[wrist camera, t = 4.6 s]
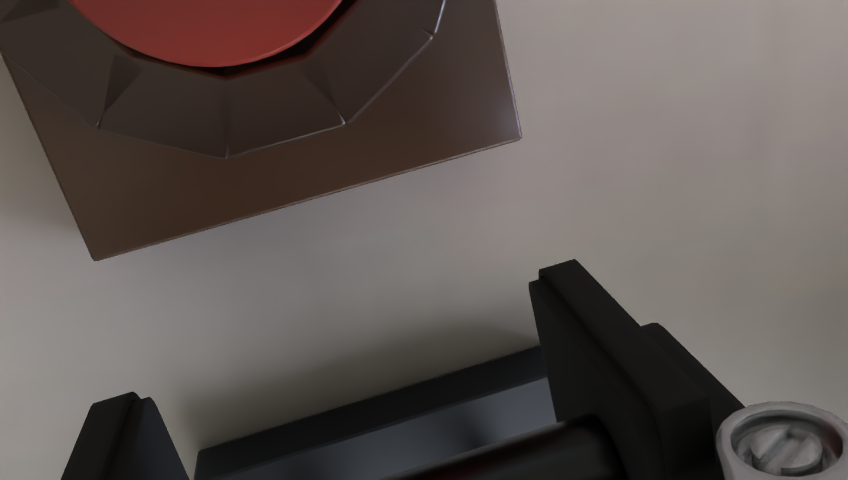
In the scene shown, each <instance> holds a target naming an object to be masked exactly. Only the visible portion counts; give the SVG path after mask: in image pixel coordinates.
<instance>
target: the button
mask: <svg viewBox="0 0 848 480" xmlns="http://www.w3.org/2000/svg"><path fill="white" fill-rule="evenodd" d="M67 1H68V2H69V3H70V4H71V5H72V6H73V7H74V8H75V9H76V10H77V11H78V12H79V13H80V14H81V15H82V16H83V17H85V18H86V19H87V20H88V21H90V22H91V23H92V24H93V25H95V26H96V27H97V28H99V29H100V30H101V31H102V32H104V33H106V34H107V35H109V36H110V37H112V38H114V39H115V40H117V41H119V42H120V43H122V44H124V45H126V46H128V47H130V48H132V49H134V50H137V51H139V52H141V53H143V54H145V55H148V56H152V57H155V58H158V59H161V60H164V61H167V62H172V63H177V64H183V65H188V66H200V67H223V66H235V65H240V64H245V63H250V62H255V61H258V60H261V59H264V58H267V57H270V56H272V55H275V54H277V53H279V52H281V51H283V50H285V49H287V48H289V47H291V46H293V45H295V44H296V43H298V42H299V41H301V40H302V39H304V38H305V37H306V36H308V35H309V34H311V33H312V32H313V31H314V30H315V29H316V28H318V27H319V26H320V25H321V24H322V23H323V22H324V21H325V20H326V19H327V18H328V17H329V16H330V15H331V14H332V12H333V11H334V10H335V9H336V8H337V6H338V5H339V4H340V3H341V1H342V0H67Z"/></svg>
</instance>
